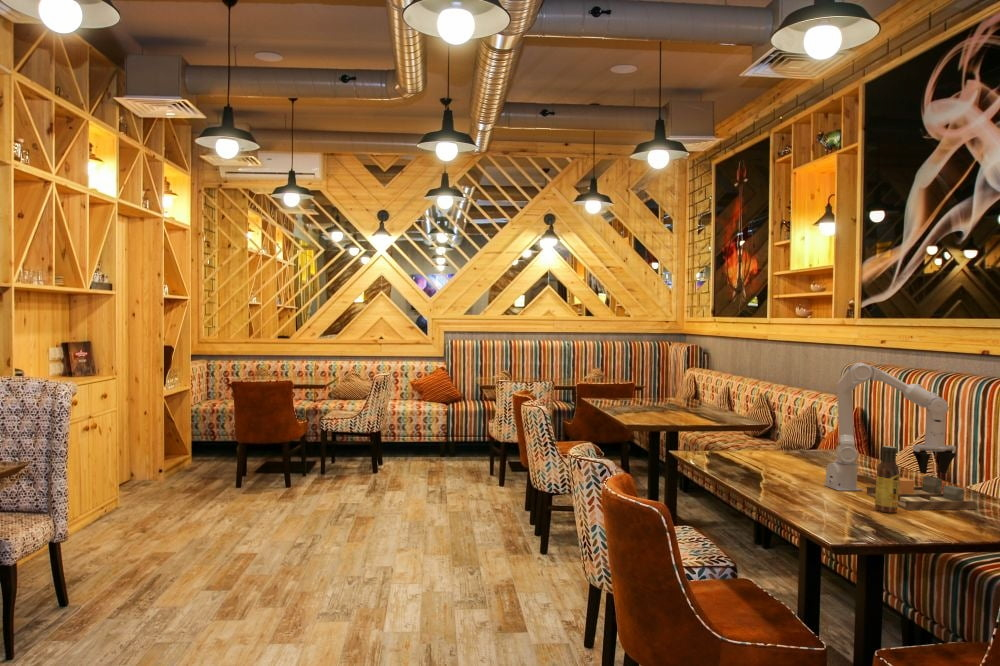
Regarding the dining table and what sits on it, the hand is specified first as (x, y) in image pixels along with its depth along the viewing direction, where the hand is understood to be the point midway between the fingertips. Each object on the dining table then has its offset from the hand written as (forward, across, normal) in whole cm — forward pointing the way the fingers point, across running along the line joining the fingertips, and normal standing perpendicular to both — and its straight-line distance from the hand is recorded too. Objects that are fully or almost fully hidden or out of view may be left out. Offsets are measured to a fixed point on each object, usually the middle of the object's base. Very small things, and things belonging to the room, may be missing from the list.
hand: (933, 472), depth 239 cm
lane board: (+8, -9, -4) cm, 13 cm away
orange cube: (+7, -11, 0) cm, 13 cm away
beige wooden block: (+8, -7, 0) cm, 11 cm away
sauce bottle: (+9, -29, -14) cm, 33 cm away
